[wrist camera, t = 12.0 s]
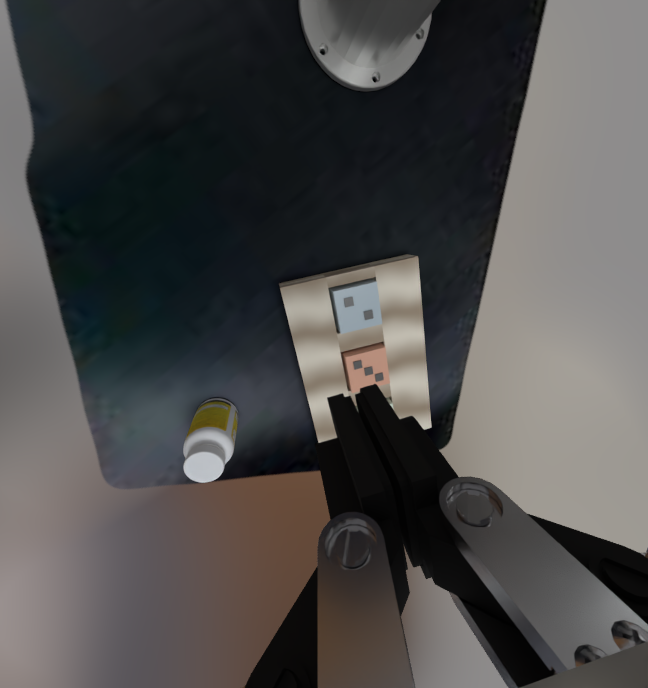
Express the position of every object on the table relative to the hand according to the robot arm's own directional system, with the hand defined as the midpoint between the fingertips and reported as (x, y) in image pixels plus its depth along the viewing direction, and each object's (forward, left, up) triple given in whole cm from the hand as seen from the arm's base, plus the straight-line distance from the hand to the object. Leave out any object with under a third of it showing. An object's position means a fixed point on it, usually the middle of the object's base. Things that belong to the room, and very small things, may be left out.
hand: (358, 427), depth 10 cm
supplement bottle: (+15, -13, -29) cm, 35 cm away
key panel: (+12, +7, -29) cm, 32 cm away
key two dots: (+4, +7, -28) cm, 29 cm away
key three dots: (+12, +7, -28) cm, 31 cm away
